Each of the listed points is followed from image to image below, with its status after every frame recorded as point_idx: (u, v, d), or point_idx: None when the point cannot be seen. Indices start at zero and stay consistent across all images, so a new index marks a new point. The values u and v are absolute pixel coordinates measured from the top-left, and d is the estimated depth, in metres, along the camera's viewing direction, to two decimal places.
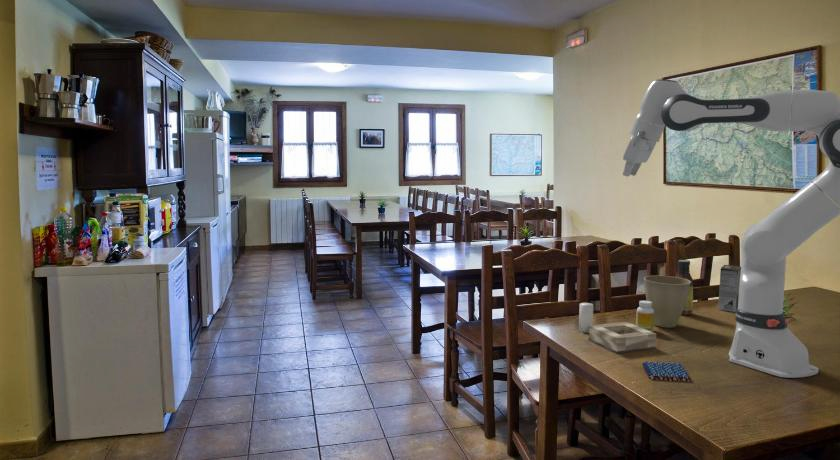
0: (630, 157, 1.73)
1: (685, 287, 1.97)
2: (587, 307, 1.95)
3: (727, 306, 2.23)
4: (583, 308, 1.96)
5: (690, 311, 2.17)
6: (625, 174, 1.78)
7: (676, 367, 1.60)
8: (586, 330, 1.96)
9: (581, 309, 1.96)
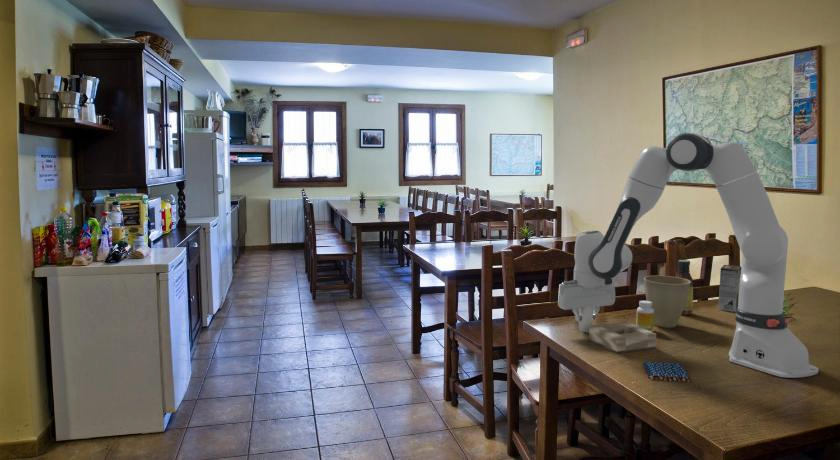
0: (560, 305, 1.93)
1: (685, 287, 1.97)
2: (587, 307, 1.95)
3: (727, 306, 2.23)
4: (583, 308, 1.96)
5: (690, 311, 2.17)
6: (576, 319, 1.97)
7: (676, 367, 1.60)
8: (586, 330, 1.96)
9: (581, 309, 1.96)
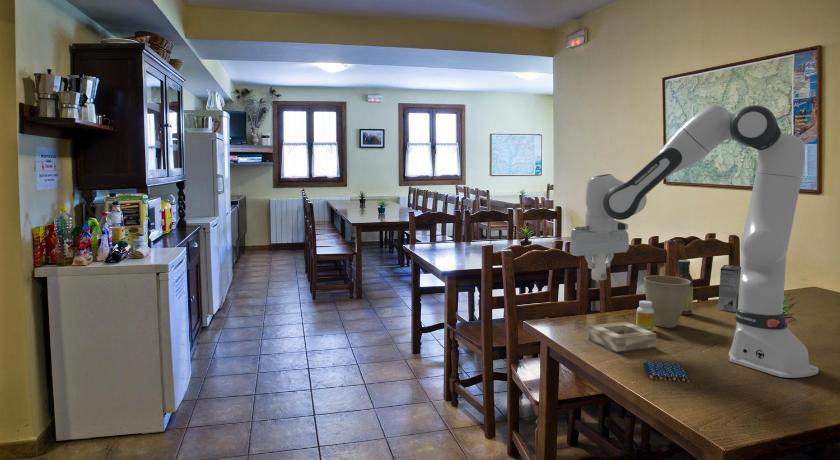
0: (572, 251, 1.87)
1: (685, 287, 1.97)
2: (600, 253, 1.89)
3: (727, 306, 2.23)
4: (595, 255, 1.89)
5: (690, 311, 2.17)
6: (589, 267, 1.90)
7: (676, 367, 1.60)
8: (599, 277, 1.90)
9: (594, 256, 1.90)
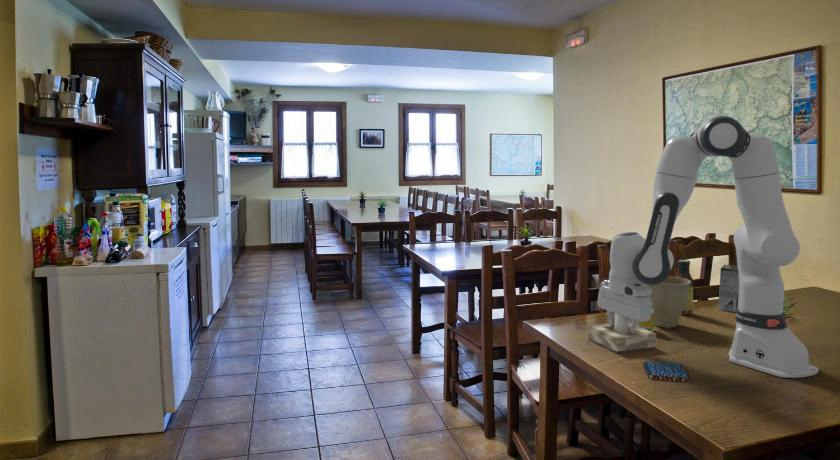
0: None
1: (685, 287, 1.97)
2: (615, 315, 1.82)
3: (727, 306, 2.23)
4: None
5: (690, 311, 2.17)
6: None
7: (677, 367, 1.60)
8: None
9: None
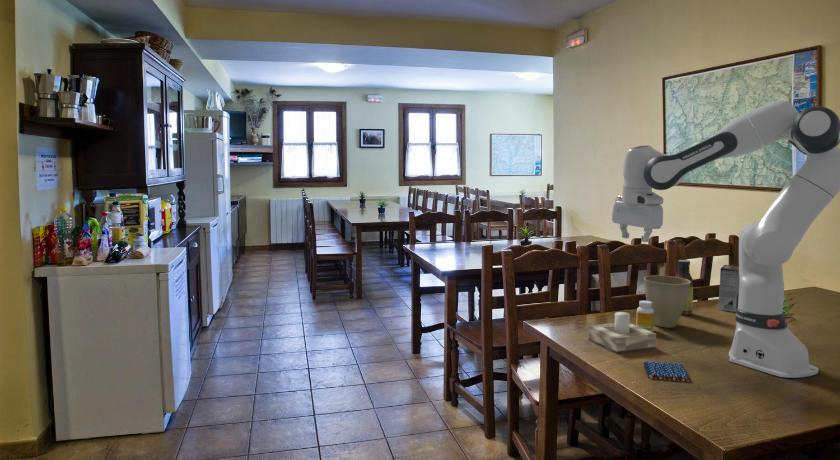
0: None
1: (685, 287, 1.97)
2: (616, 315, 1.82)
3: (727, 306, 2.23)
4: None
5: (690, 311, 2.17)
6: None
7: (677, 367, 1.60)
8: None
9: None
